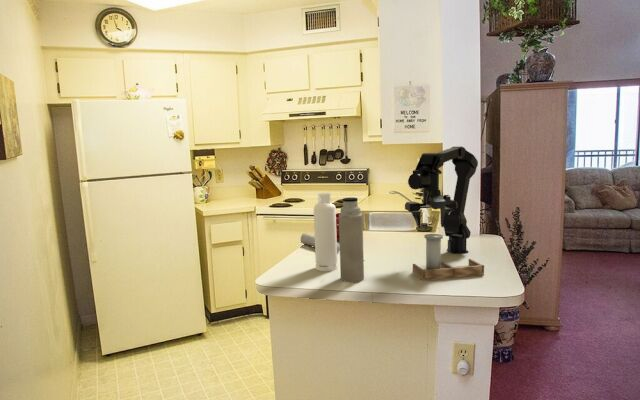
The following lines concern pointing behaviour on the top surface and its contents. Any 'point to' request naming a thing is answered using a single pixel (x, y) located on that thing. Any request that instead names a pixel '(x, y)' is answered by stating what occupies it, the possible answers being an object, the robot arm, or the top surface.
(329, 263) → the bottle
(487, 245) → the top surface
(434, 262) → the cord reel
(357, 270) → the thermos bottle
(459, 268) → the rack
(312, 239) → the tube
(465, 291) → the top surface
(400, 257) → the top surface
